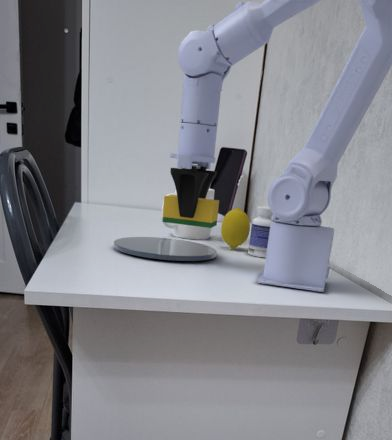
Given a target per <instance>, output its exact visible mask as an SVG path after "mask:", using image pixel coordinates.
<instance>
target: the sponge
mask: <svg viewBox="0 0 392 440" xmlns="http://www.w3.org/2000/svg"><path fill="white" fill-rule="evenodd" d="M163 200H164V207H163V221H162V220H161V222H162V223H163V222H167V223H175V224H183V225H191V226H199V227H207V228H211V229H212V228H214V227H216V226H217V225H218V216H219V206H220V200H219V199H214V200H212V199H203V198H199V199H198V203H197V208H196V212H195V215H194V217H193V218H187V217H180V214H179V207H178V198H177V195H168V196H166V195H164V196H163Z"/></svg>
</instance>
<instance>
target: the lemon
mask: <svg viewBox="0 0 392 440" xmlns="http://www.w3.org/2000/svg"><path fill="white" fill-rule="evenodd" d="M250 232H251V222H250V218H249V216H248V215H247V213H246V212H245V211H243V210H241V208H240V207H235V208H234V209H232V210H229V211H228V212H227V213H226V214H225V215H224V217H223V219H222V222H221V227H220V235H221V238H222V240H223V241H224V243H225V244H227V245H228V246H229V247H230V250H231V249H232V250H235V249H237V247H239V246H241V245H243V244H244V243H245V242H246V241H247V240H248V239H249V236H250Z"/></svg>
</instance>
